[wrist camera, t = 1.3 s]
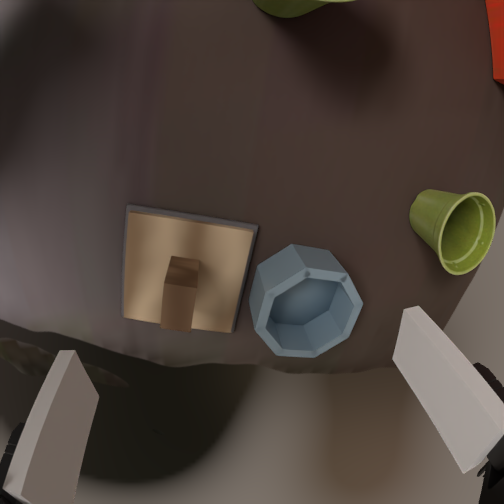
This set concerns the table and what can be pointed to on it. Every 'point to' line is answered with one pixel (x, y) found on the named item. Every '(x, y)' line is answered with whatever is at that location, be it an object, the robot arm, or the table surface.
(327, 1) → the plant pot
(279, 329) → the slate-blue bowl
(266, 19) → the table surface
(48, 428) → the robot arm
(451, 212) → the plant pot
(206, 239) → the oak board
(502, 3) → the file binder
